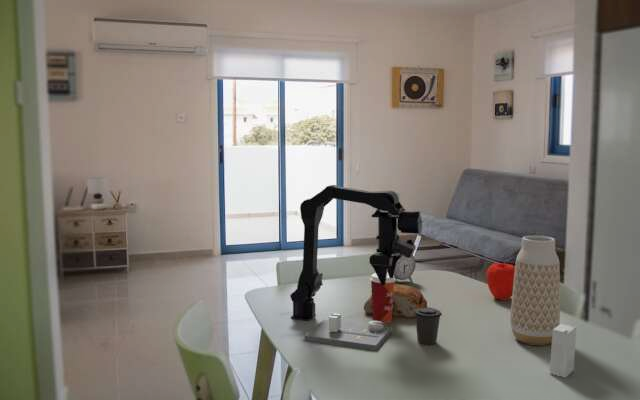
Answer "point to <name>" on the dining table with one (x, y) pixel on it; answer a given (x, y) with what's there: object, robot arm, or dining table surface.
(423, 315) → the coffee cup
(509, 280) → the apple
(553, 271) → the vase
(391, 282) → the coffee cup
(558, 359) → the skincare box
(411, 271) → the alarm clock
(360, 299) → the dining table surface
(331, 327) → the fader
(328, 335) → the console
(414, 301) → the bread
